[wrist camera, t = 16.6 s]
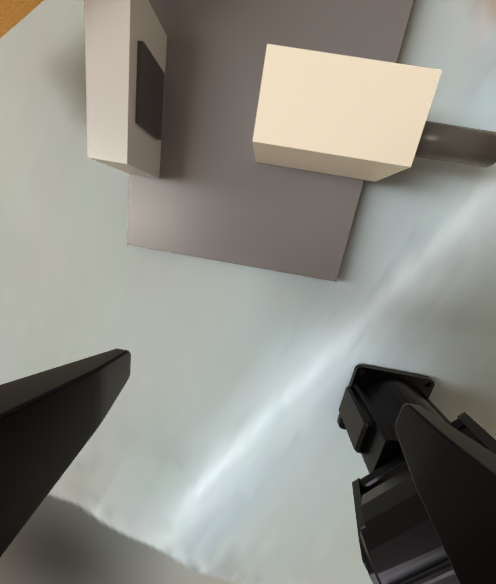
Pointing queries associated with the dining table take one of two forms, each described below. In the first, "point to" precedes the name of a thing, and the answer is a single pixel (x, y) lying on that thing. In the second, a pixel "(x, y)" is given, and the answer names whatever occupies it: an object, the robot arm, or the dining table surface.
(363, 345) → the dining table surface
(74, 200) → the dining table surface
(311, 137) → the plug
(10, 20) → the copper metal plate
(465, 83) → the dining table surface
